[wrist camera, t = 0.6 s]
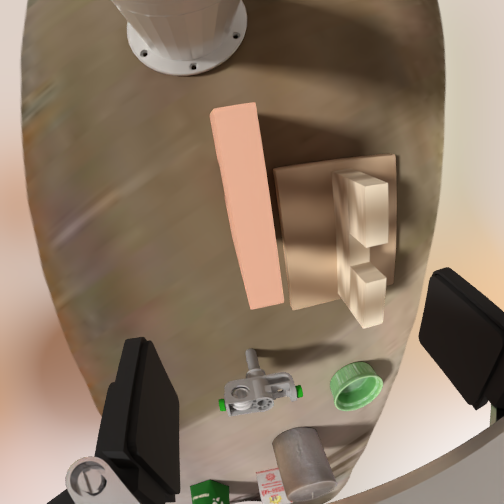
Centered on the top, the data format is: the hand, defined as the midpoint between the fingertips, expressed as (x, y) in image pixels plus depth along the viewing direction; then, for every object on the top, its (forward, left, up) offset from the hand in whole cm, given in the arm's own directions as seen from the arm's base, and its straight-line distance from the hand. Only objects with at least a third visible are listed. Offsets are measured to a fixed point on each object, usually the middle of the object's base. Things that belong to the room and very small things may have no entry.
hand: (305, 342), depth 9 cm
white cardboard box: (+68, -4, -27) cm, 73 cm away
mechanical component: (+25, -2, -27) cm, 36 cm away
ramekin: (+37, +14, -27) cm, 48 cm away
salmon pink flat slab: (0, 0, -27) cm, 27 cm away
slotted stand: (+9, +12, -27) cm, 31 cm away
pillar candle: (+53, +3, -27) cm, 59 cm away
